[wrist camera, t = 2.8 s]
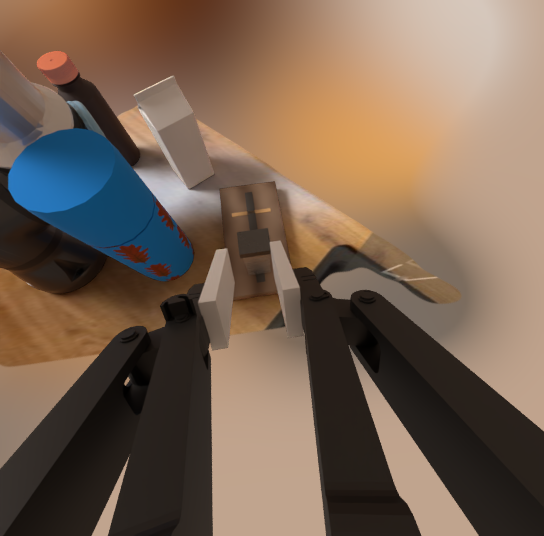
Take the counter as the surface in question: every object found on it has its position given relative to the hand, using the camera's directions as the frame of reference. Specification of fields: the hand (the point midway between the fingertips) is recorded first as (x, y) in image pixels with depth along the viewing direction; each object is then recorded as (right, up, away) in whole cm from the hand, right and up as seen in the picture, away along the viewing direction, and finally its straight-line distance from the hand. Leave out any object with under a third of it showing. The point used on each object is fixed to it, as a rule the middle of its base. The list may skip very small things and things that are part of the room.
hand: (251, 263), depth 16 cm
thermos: (-20, +2, +31) cm, 37 cm away
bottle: (-34, +26, +40) cm, 59 cm away
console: (-2, +6, +32) cm, 32 cm away
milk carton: (-17, +22, +38) cm, 47 cm away
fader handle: (-1, 0, +27) cm, 27 cm away
